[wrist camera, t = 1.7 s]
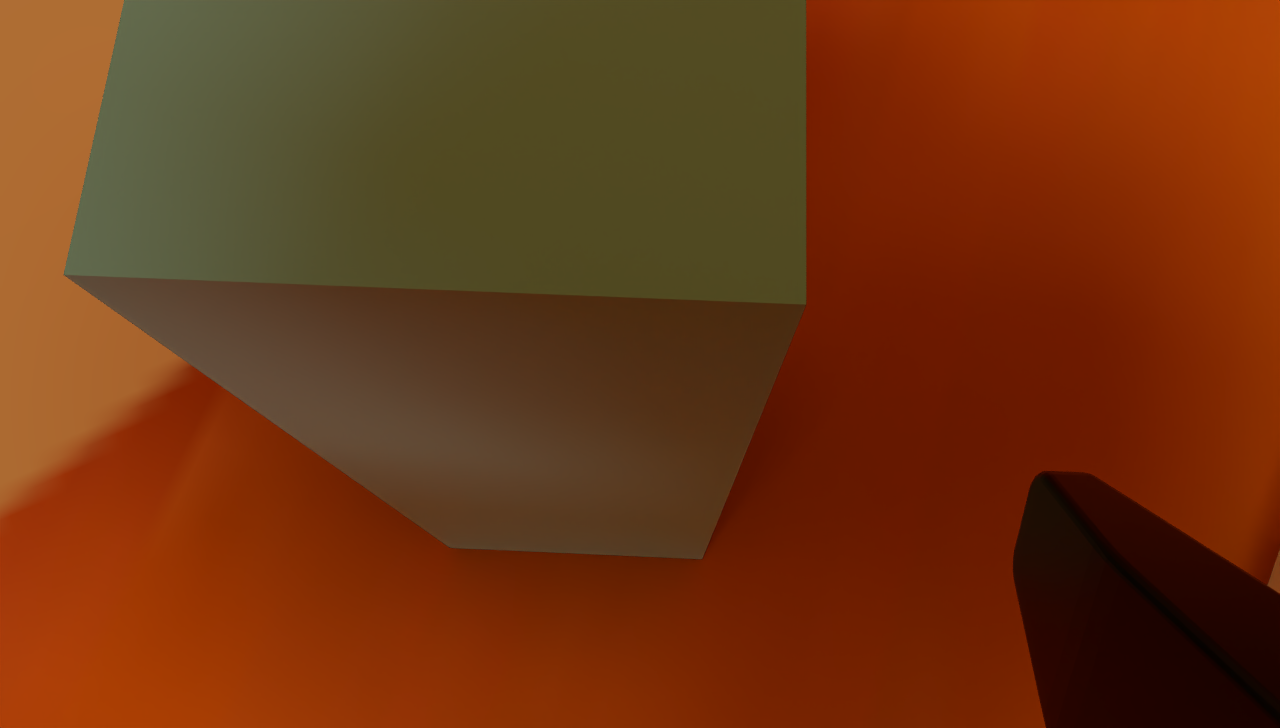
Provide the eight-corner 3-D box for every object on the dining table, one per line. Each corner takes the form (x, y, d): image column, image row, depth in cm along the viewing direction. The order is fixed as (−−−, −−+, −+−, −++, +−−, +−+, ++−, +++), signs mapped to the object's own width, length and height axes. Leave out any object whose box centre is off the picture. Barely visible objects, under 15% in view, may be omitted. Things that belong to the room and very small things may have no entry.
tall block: (701, 559, 19) (807, 303, 6) (449, 547, 19) (63, 275, 6) (708, 320, 20) (805, -279, 8) (472, 310, 20) (189, -298, 8)
